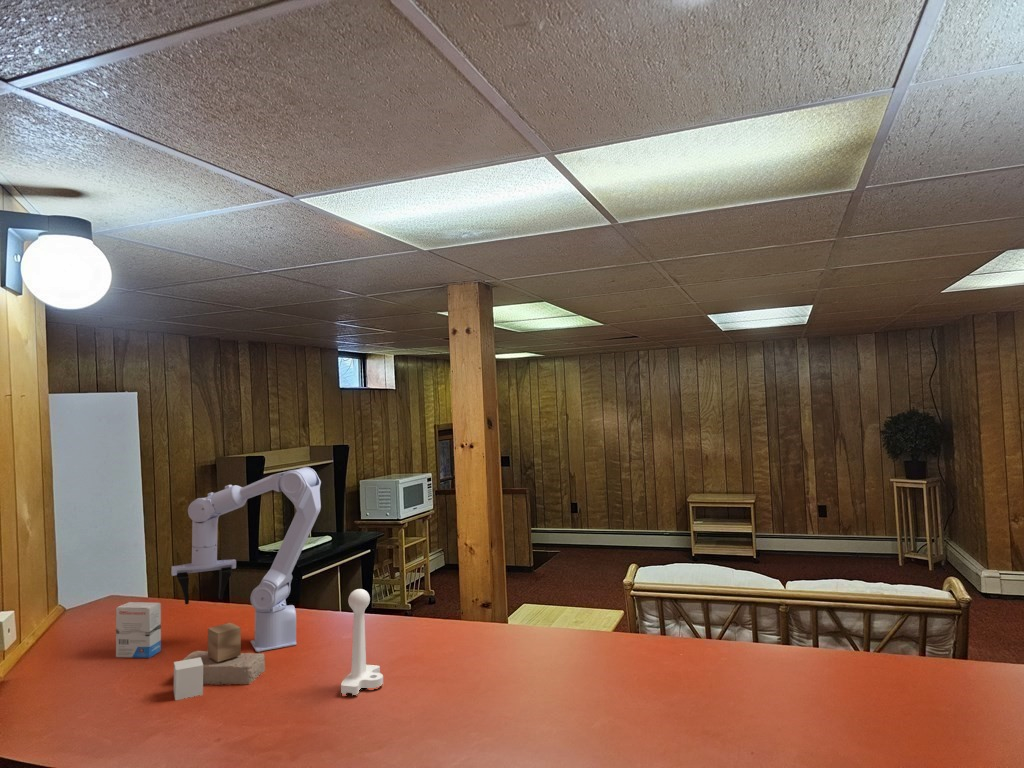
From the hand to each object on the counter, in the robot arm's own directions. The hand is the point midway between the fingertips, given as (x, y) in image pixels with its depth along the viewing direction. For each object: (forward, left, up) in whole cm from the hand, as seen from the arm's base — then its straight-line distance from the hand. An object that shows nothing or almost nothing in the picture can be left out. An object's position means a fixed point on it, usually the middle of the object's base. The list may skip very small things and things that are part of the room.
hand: (203, 600), depth 163 cm
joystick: (-26, +46, -11) cm, 54 cm away
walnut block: (-2, +24, -6) cm, 25 cm away
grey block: (+6, +30, -10) cm, 32 cm away
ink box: (+14, 0, -11) cm, 18 cm away
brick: (-1, +25, -11) cm, 27 cm away
